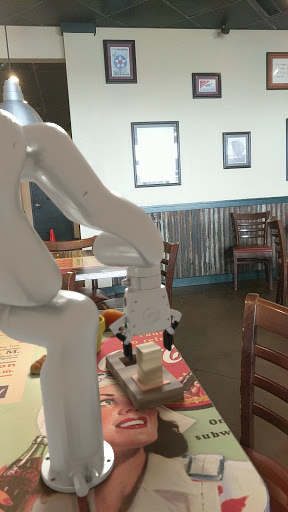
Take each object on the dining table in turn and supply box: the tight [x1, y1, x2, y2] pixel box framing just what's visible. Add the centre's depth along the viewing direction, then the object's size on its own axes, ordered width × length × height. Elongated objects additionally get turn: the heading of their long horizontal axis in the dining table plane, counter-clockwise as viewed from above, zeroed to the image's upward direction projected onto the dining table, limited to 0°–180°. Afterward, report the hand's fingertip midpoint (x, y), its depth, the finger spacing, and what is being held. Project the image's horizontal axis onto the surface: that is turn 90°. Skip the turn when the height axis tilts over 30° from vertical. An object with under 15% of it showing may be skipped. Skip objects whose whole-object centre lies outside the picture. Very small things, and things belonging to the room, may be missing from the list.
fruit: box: [100, 308, 123, 331], centre depth 130 cm, size 8×8×8 cm
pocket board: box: [104, 348, 185, 412], centre depth 94 cm, size 24×11×3 cm, turn 23°
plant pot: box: [97, 314, 106, 354], centre depth 113 cm, size 10×10×10 cm
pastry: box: [29, 353, 47, 375], centre depth 104 cm, size 9×7×4 cm
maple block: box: [135, 341, 164, 386], centre depth 87 cm, size 4×4×8 cm
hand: (148, 353), depth 87 cm, fingers open, 9 cm apart
